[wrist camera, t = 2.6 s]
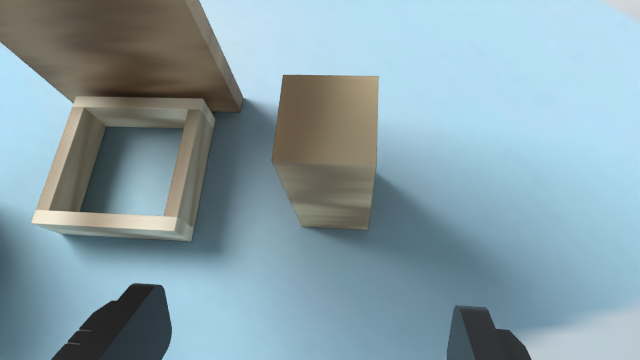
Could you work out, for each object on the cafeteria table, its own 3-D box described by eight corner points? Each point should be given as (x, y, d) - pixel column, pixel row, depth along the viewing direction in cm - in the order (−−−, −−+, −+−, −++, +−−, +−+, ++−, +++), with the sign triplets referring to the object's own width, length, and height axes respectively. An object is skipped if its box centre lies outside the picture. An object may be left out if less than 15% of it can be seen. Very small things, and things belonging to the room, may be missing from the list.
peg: (370, 168, 25) (378, 76, 16) (368, 229, 24) (376, 164, 15) (307, 166, 26) (283, 74, 17) (301, 226, 24) (271, 160, 15)
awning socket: (243, 97, 28) (-113, -681, 7) (217, 246, 24) (-848, -490, 3) (84, 94, 29) (-646, -571, 8) (34, 235, 25) (-1679, -329, 4)
